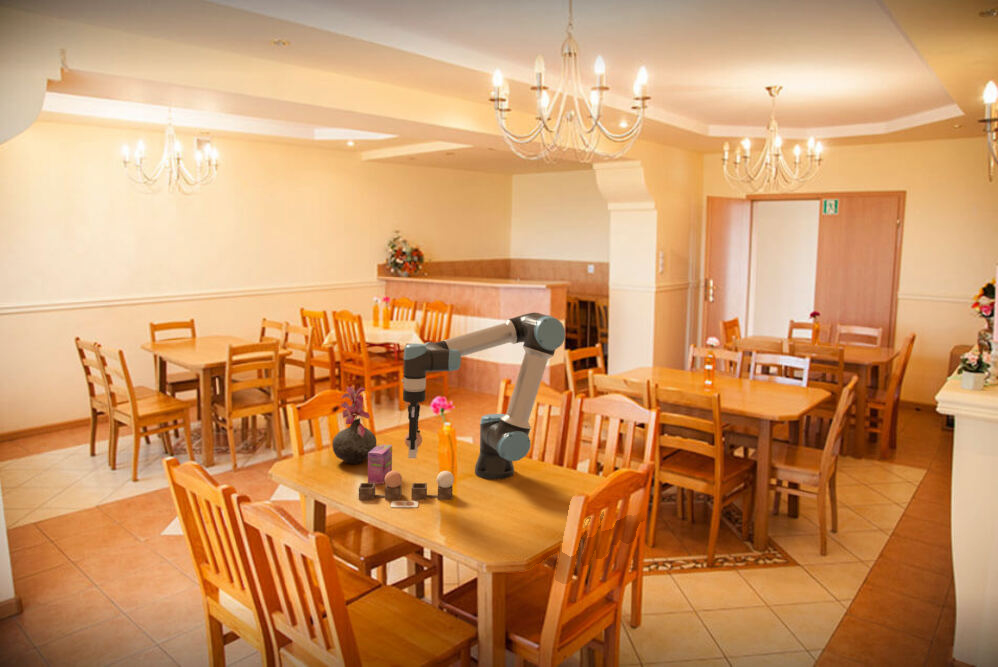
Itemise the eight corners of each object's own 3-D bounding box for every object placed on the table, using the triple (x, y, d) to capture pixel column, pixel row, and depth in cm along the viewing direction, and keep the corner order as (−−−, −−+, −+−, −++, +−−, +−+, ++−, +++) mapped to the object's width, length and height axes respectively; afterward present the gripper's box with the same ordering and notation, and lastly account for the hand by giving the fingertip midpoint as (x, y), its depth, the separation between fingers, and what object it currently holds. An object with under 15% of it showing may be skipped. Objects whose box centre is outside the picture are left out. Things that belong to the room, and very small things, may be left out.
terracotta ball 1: (402, 484, 231) (402, 468, 230) (401, 491, 225) (401, 474, 224) (385, 484, 230) (385, 468, 229) (383, 491, 224) (383, 474, 223)
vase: (356, 452, 274) (356, 381, 270) (386, 461, 264) (386, 388, 260) (324, 462, 261) (323, 388, 256) (354, 472, 251) (354, 395, 246)
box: (382, 484, 239) (382, 453, 237) (367, 483, 240) (367, 452, 238) (392, 475, 249) (392, 445, 247) (378, 473, 250) (378, 443, 248)
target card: (418, 501, 224) (418, 500, 224) (417, 507, 219) (417, 506, 219) (391, 501, 223) (391, 500, 223) (390, 507, 219) (390, 506, 218)
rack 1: (401, 493, 231) (401, 483, 230) (399, 499, 226) (399, 488, 225) (360, 493, 230) (360, 482, 229) (358, 499, 225) (358, 488, 224)
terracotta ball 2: (422, 445, 229) (422, 429, 228) (421, 451, 223) (421, 434, 222) (405, 445, 228) (405, 428, 228) (403, 450, 223) (404, 433, 222)
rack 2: (452, 494, 232) (452, 483, 231) (452, 499, 227) (452, 488, 226) (412, 494, 231) (412, 483, 230) (411, 499, 226) (411, 488, 225)
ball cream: (453, 484, 232) (454, 468, 231) (453, 491, 226) (454, 474, 225) (436, 484, 231) (437, 468, 230) (436, 491, 225) (436, 474, 225)
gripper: (405, 383, 232) (404, 446, 235) (401, 395, 213) (399, 463, 216) (426, 383, 232) (425, 446, 236) (424, 396, 214) (422, 464, 217)
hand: (413, 454), depth 226 cm, fingers closed on terracotta ball 2, 6 cm apart
